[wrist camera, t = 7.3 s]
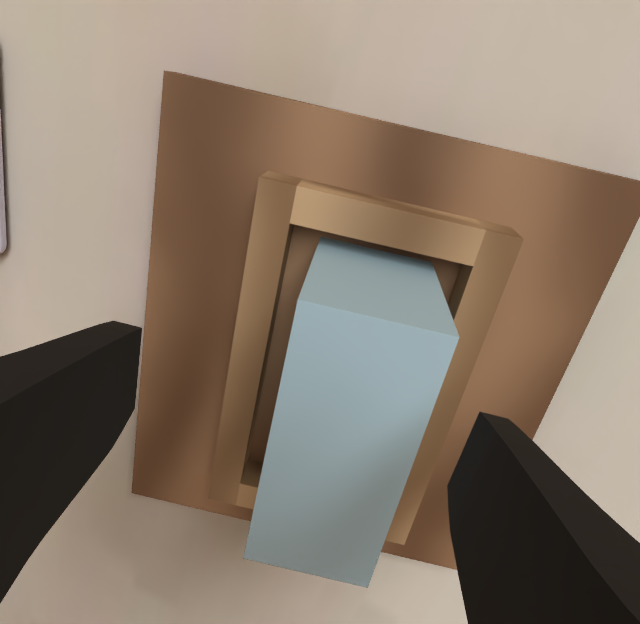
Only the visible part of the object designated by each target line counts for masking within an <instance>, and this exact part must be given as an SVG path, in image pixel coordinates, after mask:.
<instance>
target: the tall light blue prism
mask: <svg viewBox="0 0 640 624" xmlns="http://www.w3.org/2000/svg"><path fill="white" fill-rule="evenodd" d="M458 340H459V334H458V332H457V329H456V326H455V324H454V321H453V318H452V315H451V313H450V310H449V307H448V305H447V302H446V299H445V296H444V294H443V291H442V288H441V285H440V283H439V280H438V277H437V275H436V272H435V269H434V266H433V264H432V262H428V261H424V260H420V259H415V258H411V257H407V256H403V255H398V254H394V253H390V252H386V251H381V250H377V249H373V248H368V247H364V246H360V245H356V244H351V243H347V242H343V241H338V240H334V239H330V238H326V237H320V240H319V243H318V246H317V248H316V251H315V254H314V256H313V259H312V262H311V265H310V267H309V270H308V273H307V276H306V278H305V281H304V284H303V286H302V289H301V292H300V295H299V297H298V301H297V305H296V310H295V315H294V320H293V324H292V329H291V334H290V339H289V343H288V348H287V353H286V358H285V362H284V367H283V372H282V377H281V381H280V386H279V391H278V396H277V400H276V405H275V410H274V415H273V419H272V424H271V429H270V434H269V438H268V443H267V448H266V453H265V457H264V462H263V467H262V472H261V476H260V481H259V486H258V491H257V495H256V500H255V505H254V510H253V514H252V519H251V524H250V529H249V533H248V538H247V543H246V548H245V552H244V557H243V558H244V559H248V560H252V561H256V562H260V563H265V564H269V565H273V566H277V567H282V568H286V569H290V570H294V571H299V572H303V573H307V574H311V575H316V576H320V577H324V578H328V579H333V580H337V581H341V582H345V583H350V584H354V585H358V586H362V587H367V588H368V585H369V583H370V580H371V577H372V574H373V572H374V569H375V566H376V563H377V561H378V558H379V555H380V553H381V550H382V547H383V544H384V542H385V539H386V536H387V534H388V531H389V528H390V525H391V523H392V520H393V517H394V514H395V512H396V509H397V506H398V504H399V501H400V498H401V495H402V493H403V490H404V487H405V484H406V482H407V479H408V476H409V474H410V471H411V468H412V465H413V463H414V460H415V457H416V455H417V452H418V449H419V446H420V444H421V441H422V438H423V435H424V433H425V430H426V427H427V425H428V422H429V419H430V416H431V414H432V411H433V408H434V405H435V403H436V400H437V397H438V395H439V392H440V389H441V386H442V384H443V381H444V378H445V376H446V373H447V370H448V367H449V365H450V362H451V359H452V356H453V354H454V351H455V348H456V346H457V343H458Z"/></svg>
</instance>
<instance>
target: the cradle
mask: <svg viewBox="0 0 640 624" xmlns="http://www.w3.org/2000/svg"><path fill="white" fill-rule="evenodd" d="M639 217H640V181H639V180H634V179H630V178H626V177H621V176H617V175H613V174H609V173H604V172H600V171H596V170H591V169H587V168H583V167H579V166H574V165H570V164H566V163H562V162H557V161H553V160H549V159H544V158H540V157H536V156H532V155H527V154H523V153H519V152H514V151H510V150H506V149H502V148H497V147H493V146H489V145H484V144H480V143H476V142H472V141H467V140H463V139H459V138H455V137H450V136H446V135H442V134H437V133H433V132H429V131H425V130H420V129H416V128H412V127H407V126H403V125H399V124H395V123H390V122H386V121H382V120H378V119H373V118H369V117H365V116H360V115H356V114H352V113H348V112H343V111H339V110H335V109H330V108H326V107H322V106H318V105H313V104H309V103H305V102H301V101H296V100H292V99H288V98H283V97H279V96H275V95H271V94H266V93H262V92H258V91H253V90H249V89H245V88H241V87H236V86H232V85H228V84H223V83H219V82H215V81H211V80H206V79H202V78H198V77H194V76H189V75H185V74H181V73H176V72H170V71H164V77H163V90H162V103H161V116H160V129H159V142H158V155H157V169H156V182H155V195H154V208H153V221H152V234H151V247H150V260H149V273H148V287H147V300H146V313H145V326H144V339H143V352H142V365H141V378H140V391H139V405H138V418H137V431H136V444H135V457H134V470H133V483H132V493H134V494H138V495H143V496H147V497H151V498H155V499H160V500H164V501H168V502H172V503H177V504H181V505H185V506H189V507H193V508H198V509H202V510H206V511H210V512H215V513H219V514H223V515H227V516H232V517H236V518H240V519H244V520H249V521H251V519H252V514H253V510H254V505H255V500H256V495H257V491H258V486H259V481H260V476H261V472H262V467H263V462H264V457H265V453H266V448H267V443H268V438H269V434H270V429H271V424H272V419H273V415H274V410H275V405H276V400H277V396H278V391H279V386H280V381H281V377H282V372H283V367H284V362H285V358H286V353H287V348H288V343H289V339H290V334H291V329H292V324H293V320H294V315H295V310H296V305H297V301H298V297H299V295H300V292H301V289H302V286H303V284H304V281H305V278H306V276H307V273H308V270H309V267H310V265H311V262H312V259H313V256H314V254H315V251H316V248H317V246H318V243H319V240H320V237H326V238H330V239H334V240H338V241H343V242H347V243H351V244H356V245H360V246H364V247H368V248H373V249H377V250H381V251H386V252H390V253H394V254H398V255H403V256H407V257H411V258H415V259H420V260H424V261H428V262H432V264H433V266H434V269H435V272H436V275H437V277H438V280H439V283H440V285H441V288H442V291H443V294H444V296H445V299H446V302H447V305H448V307H449V310H450V313H451V315H452V318H453V321H454V324H455V326H456V329H457V332H458V334H459V340H458V343H457V346H456V348H455V351H454V354H453V356H452V359H451V362H450V365H449V367H448V370H447V373H446V376H445V378H444V381H443V384H442V386H441V389H440V392H439V395H438V397H437V400H436V403H435V405H434V408H433V411H432V414H431V416H430V419H429V422H428V425H427V427H426V430H425V433H424V435H423V438H422V441H421V444H420V446H419V449H418V452H417V455H416V457H415V460H414V463H413V465H412V468H411V471H410V474H409V476H408V479H407V482H406V484H405V487H404V490H403V493H402V495H401V498H400V501H399V504H398V506H397V509H396V512H395V514H394V517H393V520H392V523H391V525H390V528H389V531H388V534H387V536H386V539H385V542H384V544H383V547H382V550H381V552H384V553H388V554H393V555H397V556H401V557H405V558H410V559H414V560H418V561H422V562H426V563H431V564H435V565H439V566H443V567H448V568H452V569H456V570H457V566H456V560H455V555H454V550H453V545H452V540H451V534H450V525H449V512H448V491H447V485H448V483H449V480H450V478H451V476H452V474H453V471H454V469H455V467H456V464H457V462H458V460H459V457H460V455H461V453H462V451H463V448H464V446H465V444H466V441H467V439H468V437H469V435H470V432H471V430H472V428H473V425H474V423H475V421H476V419H477V416H478V414H479V412H484V413H488V414H492V415H496V416H500V417H504V418H508V419H509V420H511V421H512V422H513V423H514V424H515V425H516V426H518V427H519V428H520V429H521V430H522V431H523V432H524V433H525V434H526V435H527V436H528V437H529V438H530V439H531V440H533V437H534V435H535V433H536V431H537V429H538V427H539V425H540V423H541V421H542V419H543V417H544V415H545V412H546V410H547V408H548V406H549V404H550V402H551V400H552V398H553V396H554V394H555V392H556V390H557V387H558V385H559V383H560V381H561V379H562V377H563V375H564V373H565V371H566V369H567V367H568V365H569V362H570V360H571V358H572V356H573V354H574V352H575V350H576V348H577V346H578V344H579V342H580V340H581V338H582V335H583V333H584V331H585V329H586V327H587V325H588V323H589V321H590V319H591V317H592V315H593V313H594V310H595V308H596V306H597V304H598V302H599V300H600V298H601V296H602V294H603V292H604V290H605V288H606V285H607V283H608V281H609V279H610V277H611V275H612V273H613V271H614V269H615V267H616V265H617V263H618V261H619V258H620V256H621V254H622V252H623V250H624V248H625V246H626V244H627V242H628V240H629V238H630V236H631V233H632V231H633V229H634V227H635V225H636V223H637V221H638V219H639Z"/></svg>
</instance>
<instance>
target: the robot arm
mask: <svg viewBox="0 0 640 624" xmlns="http://www.w3.org/2000/svg"><path fill="white" fill-rule="evenodd" d="M6 245H7V241H6V219H5V198H4V176H3V154H2V133H1V111H0V253H2V252H4V251H5V249H6ZM141 334H142V328H141V327H136V326H132V325H128V324H124V323H120V322H116V321H111V322H106V323H103V324H99V325H96V326H93V327H90V328H87V329H84V330H81V331H78V332H75V333H72V334H69V335H66V336H63V337H60V338H57V339H54V340H51V341H48V342H45V343H42V344H39V345H36V346H33V347H30V348H28V349H24V350H21V351H18V352H15V353H11V354H8V355H5V356H1V357H0V603H1V602H2V600H3V598H4V597H5V595H6V594H7V592H8V590H9V589H10V587H11V586H12V584H13V582H14V581H15V579H16V578H17V576H18V574H19V573H20V571H21V570H22V568H23V566H24V565H25V563H26V562H27V560H28V559H29V557H30V556H31V555H32V553H33V552H34V550H35V549H36V548H37V546H38V545H39V543H40V542H41V540H42V539H43V538H44V536H45V535H46V534H47V533H48V531H49V530H50V529H51V527H52V526H53V525H54V523H55V522H56V521H57V520H58V518H59V517H60V516H61V514H62V513H63V512H64V510H65V509H66V508H67V507H68V505H69V504H70V503H71V501H72V500H73V499H74V498H75V496H76V495H77V494H78V492H79V491H80V490H81V488H82V487H83V486H84V485H85V483H86V482H87V481H88V479H89V478H90V477H91V475H92V474H93V473H94V471H95V470H96V469H97V468H98V466H99V465H100V464H101V462H102V461H103V460H104V458H105V457H106V456H107V454H108V453H109V452H110V450H111V449H112V447H113V446H114V444H115V442H116V441H117V439H118V437H119V436H120V434H121V432H122V430H123V429H124V427H125V425H126V423H127V421H128V420H129V418H130V416H131V414H132V412H133V411H134V409H135V399H136V388H137V377H138V366H139V356H140V345H141ZM447 491H448V512H449V525H450V534H451V540H452V545H453V550H454V555H455V560H456V566H457V571H458V576H459V581H460V585H461V590H462V595H463V600H464V605H465V610H466V615H467V620H468V624H640V543H639V542H638V541H637V540H635V539H634V538H633V537H632V536H631V535H630V534H629V533H628V532H626V531H625V530H624V529H623V528H622V527H621V526H620V525H619V524H618V523H616V522H615V521H614V520H613V519H612V518H611V517H610V516H609V515H608V514H607V513H605V512H604V511H603V510H602V509H601V508H600V507H599V506H598V505H597V504H596V503H595V502H594V501H593V500H592V499H591V498H590V497H589V496H587V495H586V494H585V493H584V492H583V491H582V490H581V489H580V488H579V487H578V486H577V485H576V484H575V483H574V482H573V481H572V480H571V479H570V478H569V477H568V476H567V475H566V474H565V473H564V472H563V471H562V470H561V469H560V468H559V467H558V466H557V465H556V464H555V463H554V462H553V461H552V460H551V459H550V458H549V457H548V456H547V455H546V454H545V453H544V452H543V451H542V450H541V449H540V448H539V447H538V446H537V445H536V444H535V443H534V442H533V441H532V440H531V439H530V438H529V437H528V436H527V435H526V434H525V433H524V432H523V431H522V430H521V429H520V428H519V427H518V426H516V425H515V424H514V423H513V422H512V421H511V420H509V419H508V418H504V417H500V416H496V415H492V414H488V413H484V412H479V414H478V416H477V419H476V421H475V423H474V425H473V428H472V430H471V432H470V435H469V437H468V439H467V441H466V444H465V446H464V448H463V451H462V453H461V455H460V457H459V460H458V462H457V464H456V467H455V469H454V471H453V474H452V476H451V478H450V480H449V483H448V485H447Z"/></svg>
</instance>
